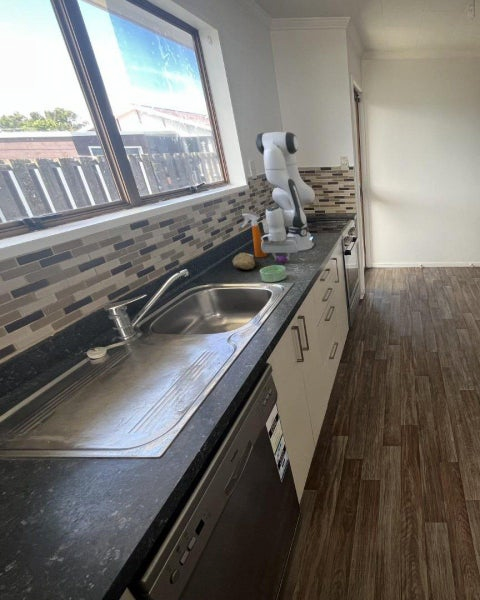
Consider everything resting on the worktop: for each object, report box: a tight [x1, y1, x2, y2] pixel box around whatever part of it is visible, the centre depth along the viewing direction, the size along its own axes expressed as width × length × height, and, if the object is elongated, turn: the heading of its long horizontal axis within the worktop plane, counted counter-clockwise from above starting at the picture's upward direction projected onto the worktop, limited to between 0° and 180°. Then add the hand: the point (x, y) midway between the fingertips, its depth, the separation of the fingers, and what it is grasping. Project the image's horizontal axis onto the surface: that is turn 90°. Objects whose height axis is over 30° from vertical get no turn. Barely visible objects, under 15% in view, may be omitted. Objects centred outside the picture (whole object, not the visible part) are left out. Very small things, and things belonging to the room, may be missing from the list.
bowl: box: [259, 264, 287, 283], centre depth 167 cm, size 12×12×5 cm
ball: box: [277, 253, 288, 264], centre depth 187 cm, size 5×5×5 cm
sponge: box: [231, 252, 256, 271], centre depth 183 cm, size 13×8×20 cm
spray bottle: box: [241, 213, 268, 259], centre depth 196 cm, size 7×11×26 cm, turn 123°
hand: (282, 260), depth 187 cm, fingers closed on ball, 5 cm apart
